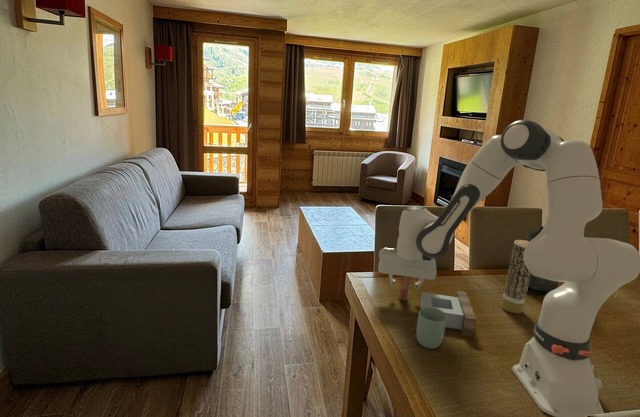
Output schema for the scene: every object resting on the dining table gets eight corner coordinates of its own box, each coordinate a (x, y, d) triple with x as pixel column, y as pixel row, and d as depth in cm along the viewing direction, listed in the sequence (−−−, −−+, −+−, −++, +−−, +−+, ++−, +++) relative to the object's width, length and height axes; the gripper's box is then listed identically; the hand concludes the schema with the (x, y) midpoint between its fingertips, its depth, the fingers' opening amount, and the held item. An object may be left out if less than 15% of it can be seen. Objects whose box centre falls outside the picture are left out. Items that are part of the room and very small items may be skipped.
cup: (437, 356, 105) (442, 324, 103) (410, 345, 109) (415, 315, 107) (444, 342, 112) (449, 312, 109) (419, 333, 116) (423, 304, 113)
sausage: (407, 300, 135) (410, 277, 133) (398, 299, 136) (401, 276, 133) (407, 296, 138) (409, 274, 136) (398, 295, 139) (401, 273, 136)
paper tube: (524, 315, 130) (540, 248, 123) (503, 312, 131) (517, 245, 124) (519, 306, 136) (533, 241, 130) (499, 303, 137) (512, 238, 131)
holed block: (461, 329, 119) (463, 315, 118) (422, 323, 121) (424, 309, 120) (455, 310, 131) (457, 297, 129) (420, 305, 133) (422, 292, 131)
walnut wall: (473, 336, 116) (476, 319, 114) (462, 335, 116) (465, 317, 115) (463, 307, 133) (466, 292, 131) (454, 306, 133) (457, 291, 132)
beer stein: (531, 275, 163) (543, 220, 157) (573, 297, 145) (588, 236, 139) (501, 279, 158) (512, 222, 151) (540, 301, 140) (555, 238, 134)
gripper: (379, 250, 131) (375, 286, 135) (439, 257, 127) (434, 294, 131) (379, 244, 137) (376, 278, 141) (437, 251, 133) (432, 286, 137)
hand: (404, 286), depth 136 cm, fingers open, 7 cm apart
